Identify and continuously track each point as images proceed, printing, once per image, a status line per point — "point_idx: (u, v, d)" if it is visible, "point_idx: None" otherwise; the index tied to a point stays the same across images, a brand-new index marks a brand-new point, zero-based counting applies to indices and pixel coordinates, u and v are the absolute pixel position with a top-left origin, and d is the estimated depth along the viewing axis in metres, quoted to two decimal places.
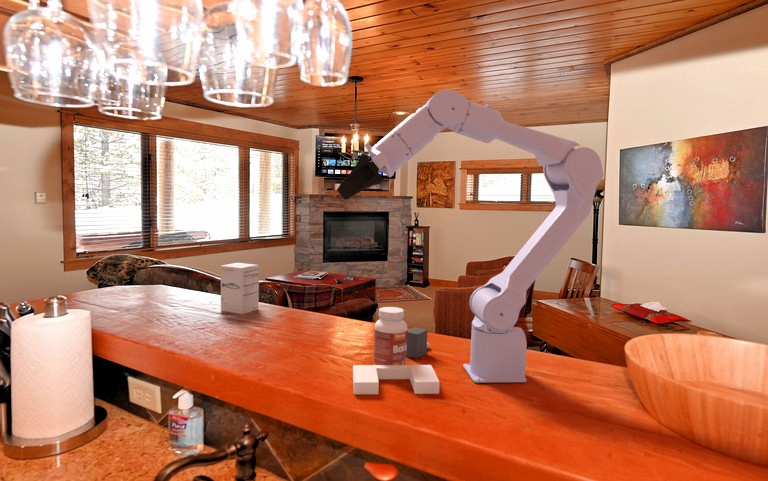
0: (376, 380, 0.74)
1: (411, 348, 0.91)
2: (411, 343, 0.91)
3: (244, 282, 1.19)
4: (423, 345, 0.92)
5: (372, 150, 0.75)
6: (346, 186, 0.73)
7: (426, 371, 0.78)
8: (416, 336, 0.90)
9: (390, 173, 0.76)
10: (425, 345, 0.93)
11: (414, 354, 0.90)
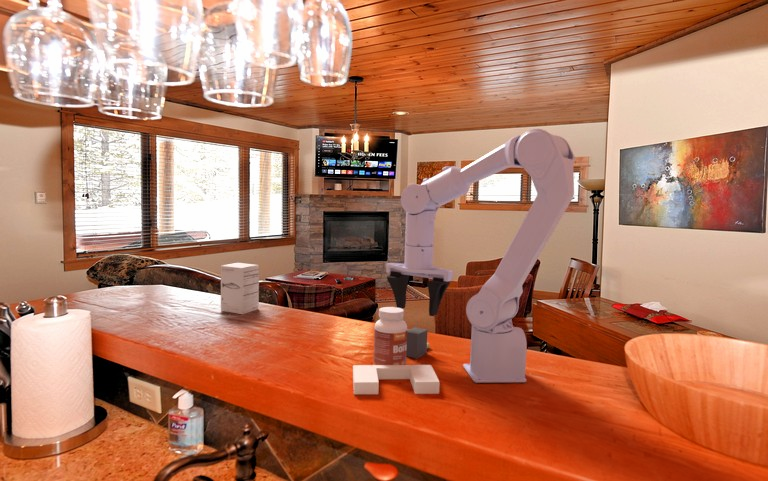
0: (376, 380, 0.74)
1: (411, 348, 0.91)
2: (411, 343, 0.91)
3: (244, 282, 1.19)
4: (423, 345, 0.92)
5: None
6: None
7: (426, 371, 0.78)
8: (416, 336, 0.90)
9: (403, 269, 0.90)
10: (425, 345, 0.93)
11: (414, 354, 0.90)
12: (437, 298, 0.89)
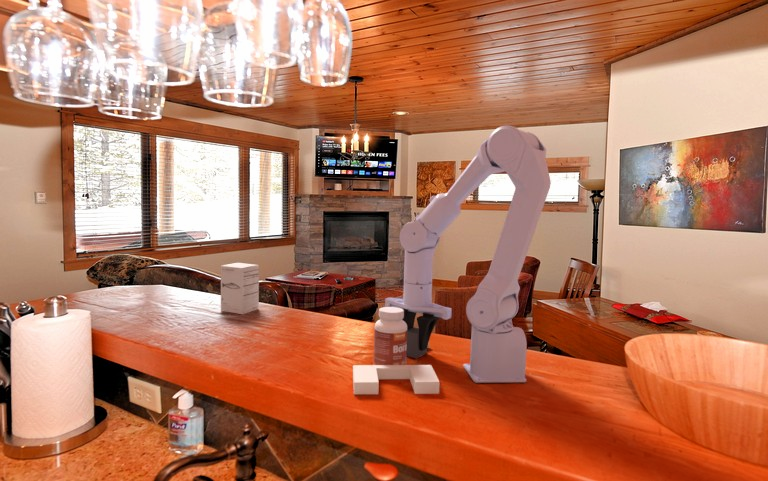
0: (376, 380, 0.74)
1: (411, 348, 0.91)
2: (411, 343, 0.91)
3: (244, 282, 1.19)
4: None
5: None
6: None
7: (426, 371, 0.78)
8: (416, 336, 0.90)
9: (402, 306, 0.91)
10: None
11: (414, 354, 0.90)
12: (426, 333, 0.91)
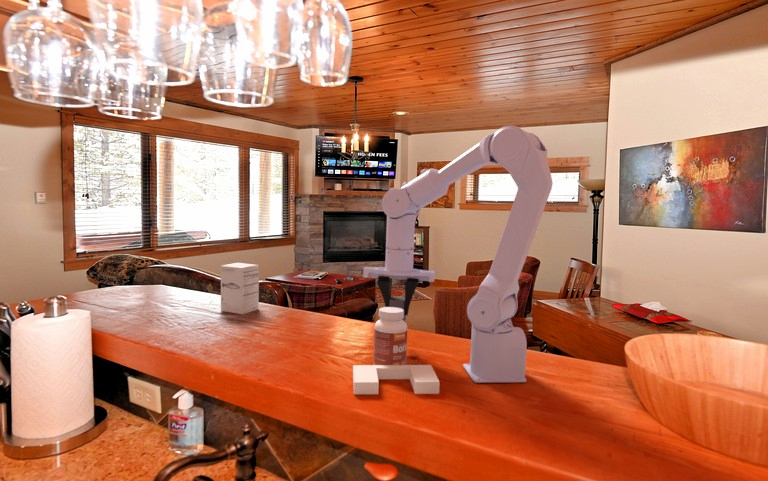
0: (376, 380, 0.74)
1: None
2: None
3: (244, 282, 1.19)
4: None
5: None
6: None
7: (426, 371, 0.78)
8: (403, 303, 0.91)
9: (387, 273, 0.90)
10: None
11: None
12: None
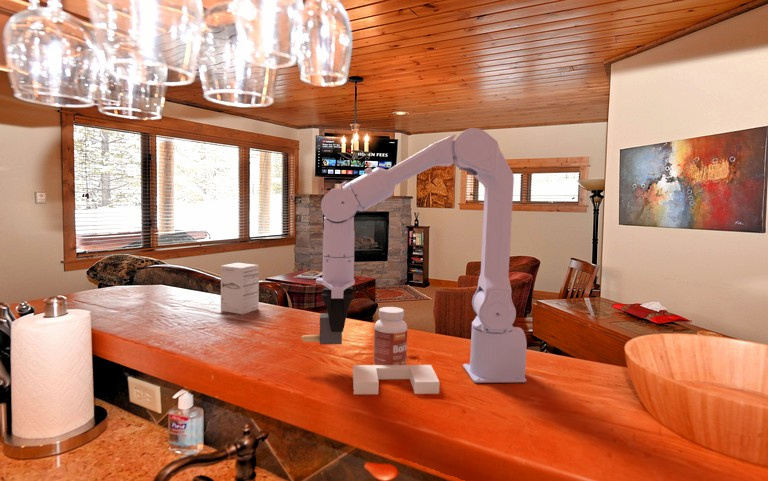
0: (376, 380, 0.74)
1: None
2: None
3: (244, 282, 1.19)
4: None
5: (325, 284, 0.80)
6: (334, 323, 0.81)
7: (426, 371, 0.78)
8: None
9: (352, 284, 0.81)
10: None
11: None
12: None
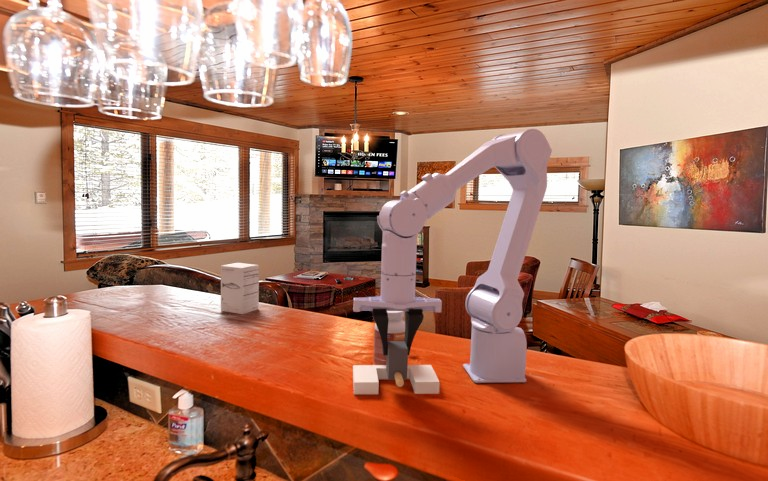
0: (376, 380, 0.74)
1: None
2: None
3: (244, 282, 1.19)
4: None
5: (416, 305, 0.73)
6: None
7: (426, 371, 0.78)
8: None
9: None
10: (388, 366, 0.73)
11: None
12: None
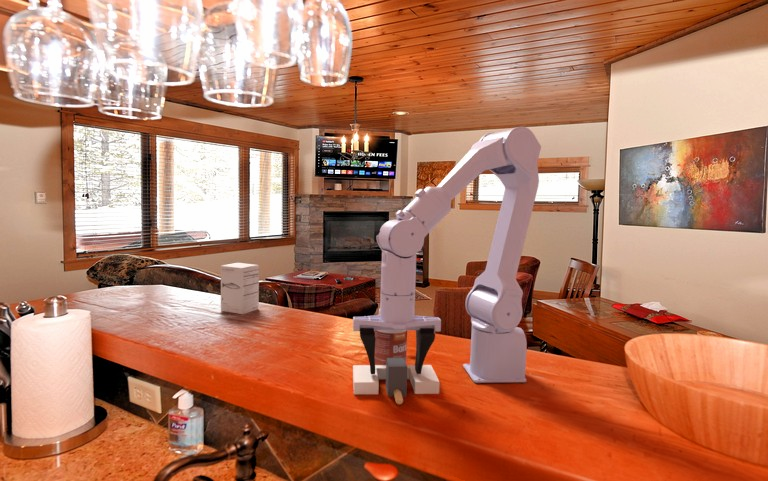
0: (376, 380, 0.74)
1: None
2: None
3: (244, 282, 1.19)
4: (387, 380, 0.74)
5: (415, 325, 0.73)
6: None
7: (426, 371, 0.78)
8: None
9: None
10: (387, 383, 0.73)
11: None
12: None
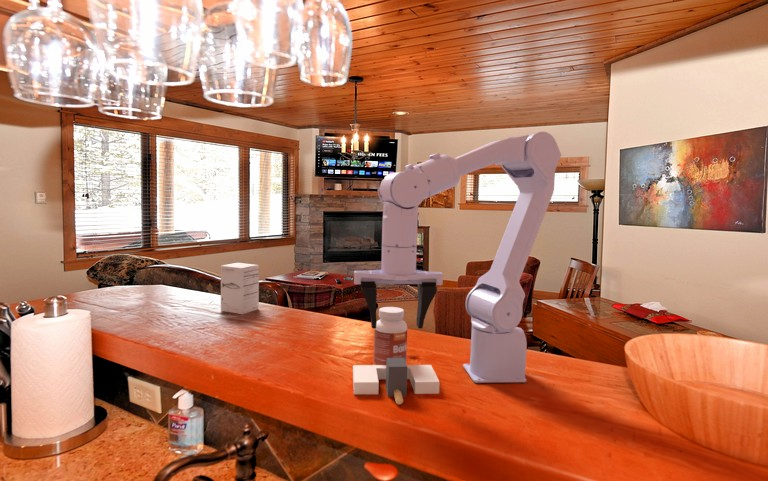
0: (376, 380, 0.74)
1: None
2: None
3: (244, 282, 1.19)
4: (387, 380, 0.74)
5: (417, 277, 0.72)
6: None
7: (426, 371, 0.78)
8: None
9: None
10: (387, 383, 0.73)
11: None
12: None
